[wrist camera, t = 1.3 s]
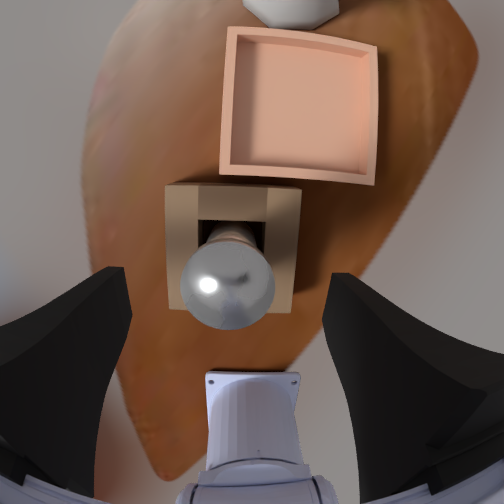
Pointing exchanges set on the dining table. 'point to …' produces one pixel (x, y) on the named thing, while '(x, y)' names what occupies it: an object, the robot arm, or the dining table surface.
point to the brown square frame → (238, 209)
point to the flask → (293, 12)
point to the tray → (299, 106)
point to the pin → (228, 279)
